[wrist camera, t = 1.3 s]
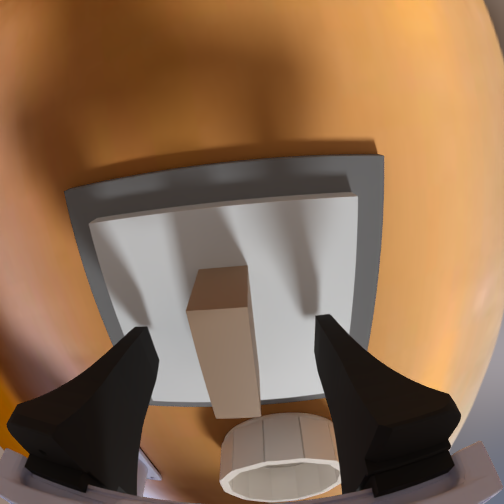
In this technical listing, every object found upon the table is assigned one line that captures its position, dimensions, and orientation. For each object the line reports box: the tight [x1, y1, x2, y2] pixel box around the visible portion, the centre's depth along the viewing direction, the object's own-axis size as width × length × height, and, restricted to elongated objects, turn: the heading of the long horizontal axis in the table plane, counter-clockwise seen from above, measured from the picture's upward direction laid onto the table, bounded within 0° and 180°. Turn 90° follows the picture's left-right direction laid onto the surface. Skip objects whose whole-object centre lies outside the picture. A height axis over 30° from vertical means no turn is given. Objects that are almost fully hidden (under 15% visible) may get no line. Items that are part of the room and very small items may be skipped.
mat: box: [64, 154, 384, 407], centre depth 14 cm, size 14×14×1 cm
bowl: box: [219, 412, 341, 502], centre depth 18 cm, size 9×9×4 cm
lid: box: [89, 192, 358, 419], centre depth 12 cm, size 11×11×4 cm
